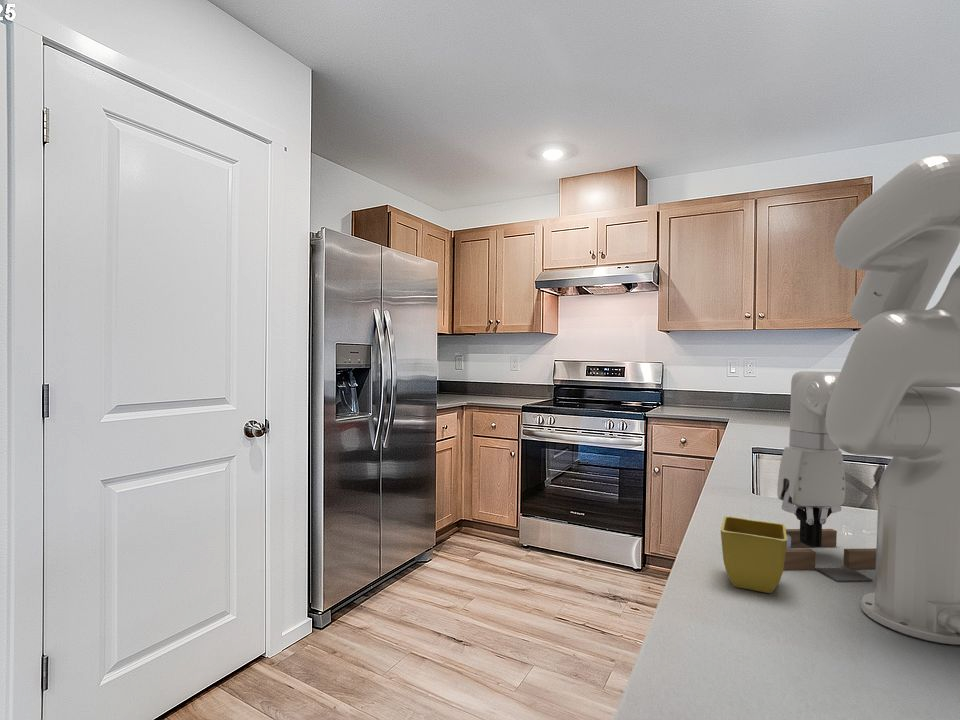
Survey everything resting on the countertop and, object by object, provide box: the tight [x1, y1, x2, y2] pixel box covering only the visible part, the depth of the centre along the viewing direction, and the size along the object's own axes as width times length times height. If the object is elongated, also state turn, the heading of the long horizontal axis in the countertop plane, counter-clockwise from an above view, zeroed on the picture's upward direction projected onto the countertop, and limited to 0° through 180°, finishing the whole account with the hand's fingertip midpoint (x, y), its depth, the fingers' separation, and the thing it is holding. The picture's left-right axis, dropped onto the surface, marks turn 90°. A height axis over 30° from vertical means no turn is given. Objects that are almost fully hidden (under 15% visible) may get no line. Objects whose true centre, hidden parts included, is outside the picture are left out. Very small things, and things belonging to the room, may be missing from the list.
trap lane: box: [783, 528, 876, 583], centre depth 95 cm, size 21×21×4 cm
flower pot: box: [720, 515, 787, 594], centre depth 83 cm, size 9×9×9 cm
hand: (810, 544), depth 95 cm, fingers closed
